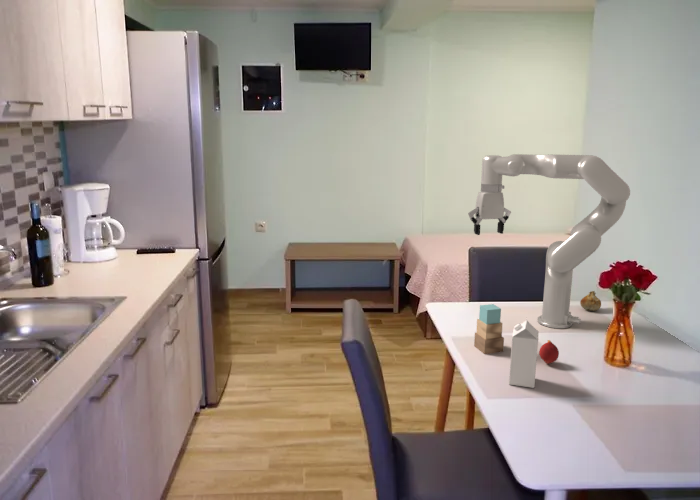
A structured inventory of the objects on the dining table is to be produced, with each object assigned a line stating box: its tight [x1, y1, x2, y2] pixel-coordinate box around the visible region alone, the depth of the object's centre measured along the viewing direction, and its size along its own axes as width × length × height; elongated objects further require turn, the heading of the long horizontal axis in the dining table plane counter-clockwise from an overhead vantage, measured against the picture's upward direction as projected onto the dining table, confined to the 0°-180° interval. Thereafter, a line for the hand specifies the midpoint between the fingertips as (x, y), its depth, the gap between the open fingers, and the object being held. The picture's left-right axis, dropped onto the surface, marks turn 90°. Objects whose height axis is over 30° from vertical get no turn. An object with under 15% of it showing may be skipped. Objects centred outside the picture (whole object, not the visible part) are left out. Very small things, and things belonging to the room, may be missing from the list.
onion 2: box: [579, 290, 602, 312], centre depth 227 cm, size 8×8×8 cm
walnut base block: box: [473, 332, 505, 355], centre depth 189 cm, size 7×7×5 cm
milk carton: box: [508, 317, 539, 389], centre depth 164 cm, size 7×7×19 cm
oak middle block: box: [475, 318, 503, 339], centre depth 188 cm, size 6×6×5 cm
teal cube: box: [478, 303, 502, 325], centre depth 187 cm, size 5×5×5 cm
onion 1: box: [538, 339, 560, 365], centre depth 177 cm, size 6×6×8 cm
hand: (488, 233), depth 214 cm, fingers open, 9 cm apart
